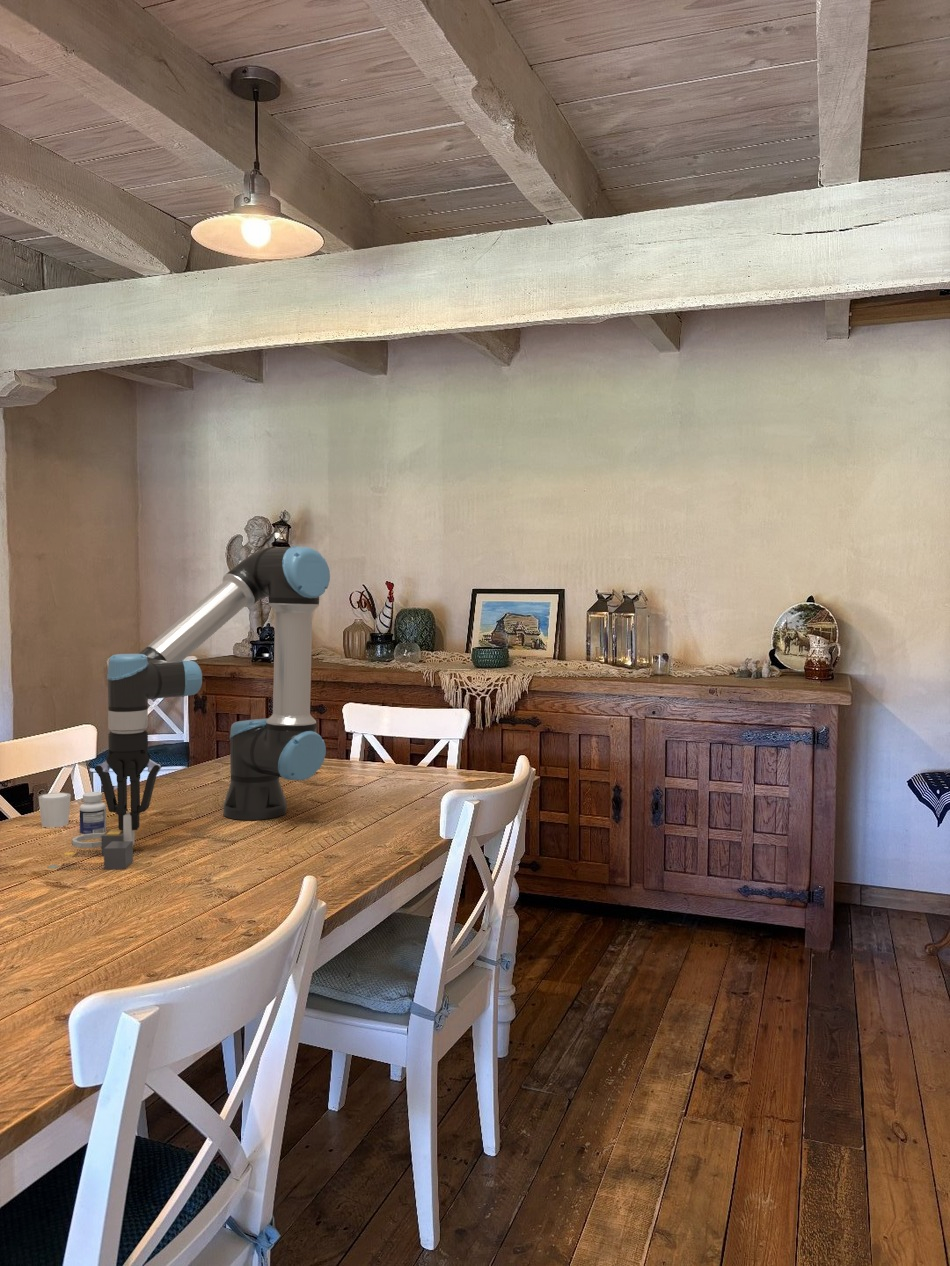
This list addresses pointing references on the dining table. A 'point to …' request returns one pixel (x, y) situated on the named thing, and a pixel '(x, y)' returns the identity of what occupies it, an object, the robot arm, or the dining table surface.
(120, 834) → the tagged breaker
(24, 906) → the dining table surface
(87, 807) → the pill bottle
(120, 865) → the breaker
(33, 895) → the dining table surface
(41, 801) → the grey cup
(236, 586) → the robot arm
